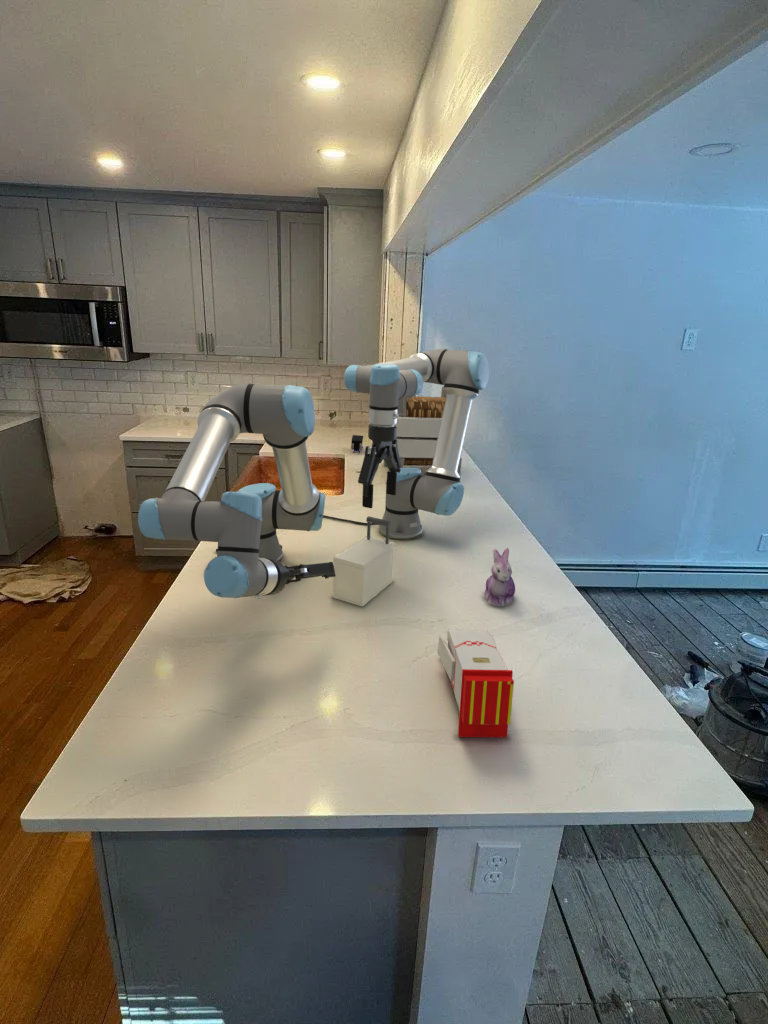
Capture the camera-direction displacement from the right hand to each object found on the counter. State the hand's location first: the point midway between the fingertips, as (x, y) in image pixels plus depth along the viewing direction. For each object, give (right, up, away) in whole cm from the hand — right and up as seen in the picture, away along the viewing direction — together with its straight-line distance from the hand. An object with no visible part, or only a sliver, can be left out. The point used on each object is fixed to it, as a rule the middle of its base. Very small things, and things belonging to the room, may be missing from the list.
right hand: (379, 500), depth 157 cm
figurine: (+33, -27, 0) cm, 43 cm away
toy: (+19, -41, -39) cm, 59 cm away
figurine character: (-14, +31, +155) cm, 158 cm away
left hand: (-17, -18, -23) cm, 34 cm away
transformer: (+19, +16, +118) cm, 120 cm away
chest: (-5, -25, +2) cm, 25 cm away
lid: (-4, -15, -1) cm, 15 cm away
